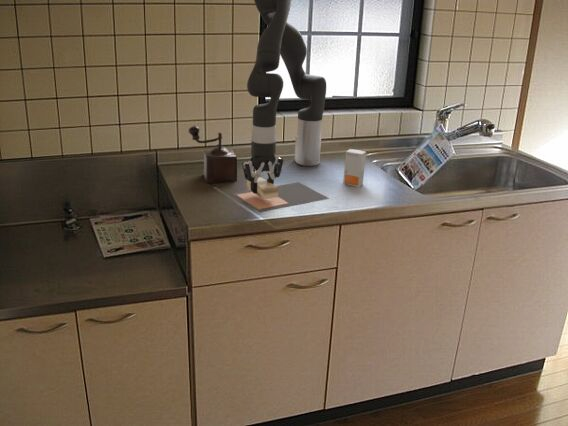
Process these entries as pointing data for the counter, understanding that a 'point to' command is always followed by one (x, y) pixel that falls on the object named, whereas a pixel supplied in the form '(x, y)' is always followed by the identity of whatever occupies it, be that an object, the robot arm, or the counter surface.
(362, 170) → the skincare box
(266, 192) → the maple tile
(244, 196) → the rubber mat
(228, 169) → the manual coffee grinder
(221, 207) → the counter surface
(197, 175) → the counter surface
